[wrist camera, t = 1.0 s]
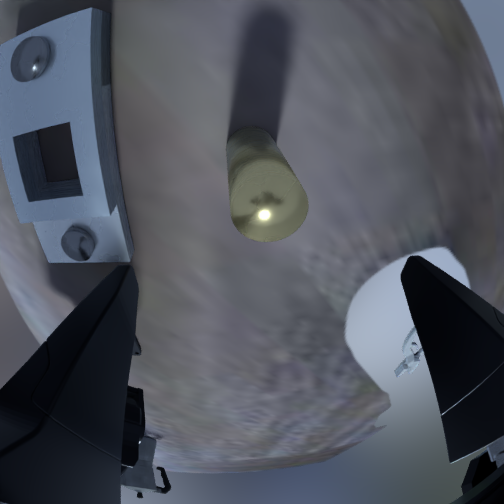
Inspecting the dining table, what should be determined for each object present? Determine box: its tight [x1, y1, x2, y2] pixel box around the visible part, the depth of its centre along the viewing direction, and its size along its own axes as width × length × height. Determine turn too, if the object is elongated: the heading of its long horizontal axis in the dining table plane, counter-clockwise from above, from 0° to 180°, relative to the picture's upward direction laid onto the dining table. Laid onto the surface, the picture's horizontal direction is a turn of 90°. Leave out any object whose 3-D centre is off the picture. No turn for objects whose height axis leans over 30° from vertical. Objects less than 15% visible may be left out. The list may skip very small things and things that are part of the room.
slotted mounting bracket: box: [0, 7, 134, 263], centre depth 14 cm, size 18×8×4 cm, turn 177°
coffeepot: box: [121, 437, 171, 498], centre depth 52 cm, size 15×9×18 cm, turn 51°
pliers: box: [394, 326, 424, 377], centre depth 39 cm, size 10×2×15 cm
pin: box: [226, 126, 308, 242], centre depth 15 cm, size 3×3×8 cm
